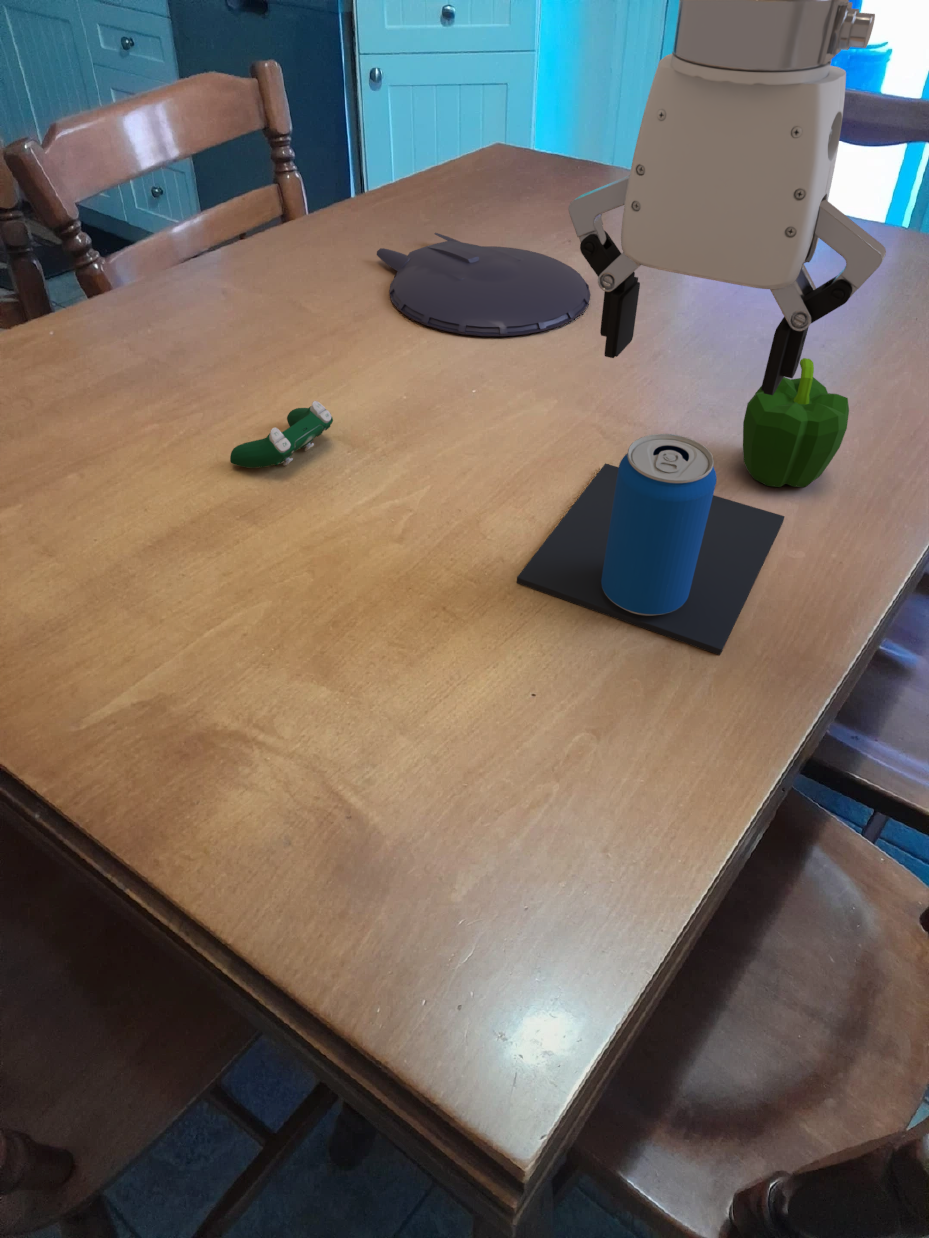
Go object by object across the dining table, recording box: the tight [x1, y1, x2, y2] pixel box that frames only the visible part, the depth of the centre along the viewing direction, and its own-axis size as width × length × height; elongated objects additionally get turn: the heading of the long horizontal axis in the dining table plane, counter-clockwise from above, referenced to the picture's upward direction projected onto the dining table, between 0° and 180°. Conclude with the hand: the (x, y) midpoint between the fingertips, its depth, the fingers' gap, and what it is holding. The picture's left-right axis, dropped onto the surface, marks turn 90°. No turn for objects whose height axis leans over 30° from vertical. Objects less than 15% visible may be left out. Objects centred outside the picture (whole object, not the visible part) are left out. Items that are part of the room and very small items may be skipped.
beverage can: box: [601, 433, 717, 616], centre depth 63 cm, size 6×6×12 cm
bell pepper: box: [742, 357, 850, 488], centre depth 77 cm, size 8×8×10 cm
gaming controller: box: [229, 400, 334, 469], centre depth 80 cm, size 9×4×6 cm
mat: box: [516, 462, 785, 656], centre depth 72 cm, size 16×18×1 cm
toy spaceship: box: [376, 232, 591, 337], centre depth 108 cm, size 28×24×3 cm
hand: (693, 366), depth 54 cm, fingers open, 9 cm apart
